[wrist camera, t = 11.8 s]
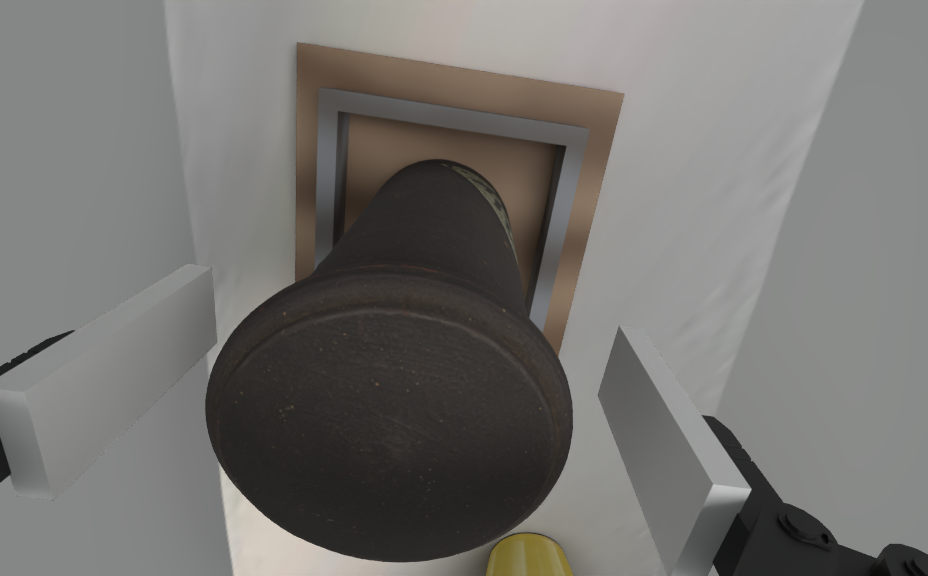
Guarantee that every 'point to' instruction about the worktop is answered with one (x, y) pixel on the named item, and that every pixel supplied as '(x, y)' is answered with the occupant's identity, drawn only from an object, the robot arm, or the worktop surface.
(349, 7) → the worktop surface
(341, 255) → the container
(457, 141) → the collar stand
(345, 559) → the worktop surface
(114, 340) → the robot arm
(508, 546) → the plant pot
